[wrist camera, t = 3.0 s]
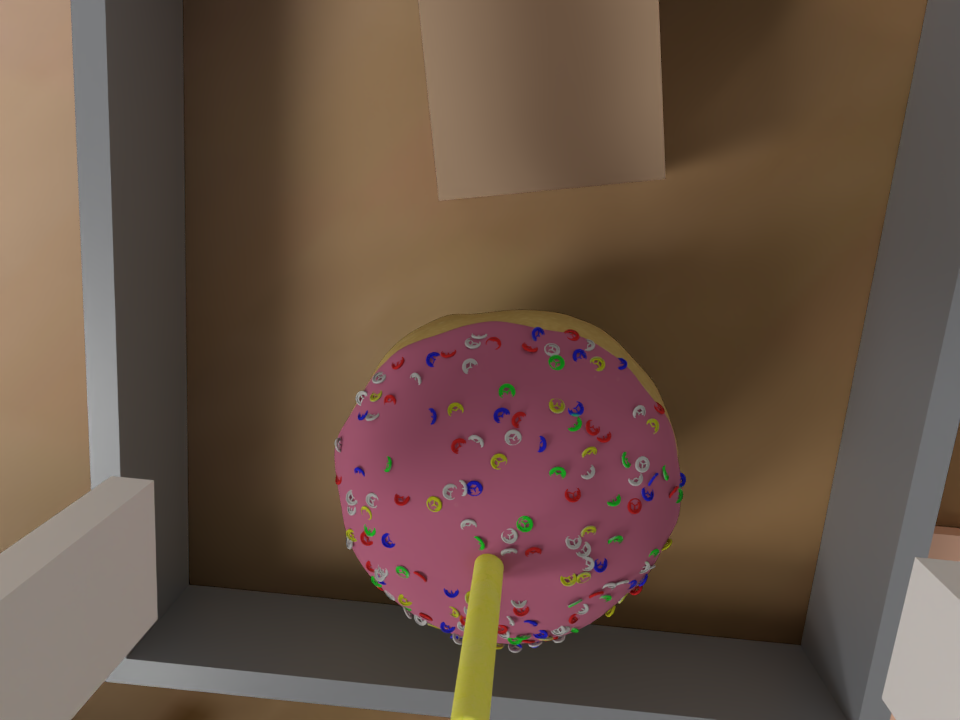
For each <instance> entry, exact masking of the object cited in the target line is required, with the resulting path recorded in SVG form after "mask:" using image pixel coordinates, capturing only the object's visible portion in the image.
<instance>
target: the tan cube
mask: <svg viewBox="0 0 960 720" xmlns="http://www.w3.org/2000/svg"><path fill="white" fill-rule="evenodd" d="M418 5H419V15H420V24H421V34H422V44H423V53H424V63H425V72H426V82H427V92H428V101H429V111H430V121H431V130H432V140H433V150H434V159H435V169H436V179H437V188H438V198H439V201H443V200H453V199H464V198H474V197H485V196H495V195H505V194H516V193H526V192H537V191H547V190H557V189H568V188H578V187H589V186H599V185H609V184H620V183H630V182H641V181H651V180H661V179H666V177H665V151H664V125H663V99H662V73H661V48H660V22H659V0H418Z"/></svg>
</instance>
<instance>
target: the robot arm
mask: <svg viewBox="0 0 960 720" xmlns="http://www.w3.org/2000/svg"><path fill="white" fill-rule="evenodd" d="M157 619H158V613H157V577H156V541H155V505H154V480H146V479H136V478H126V477H116V476H111V477H110V478H108V479H107V480H105V481H104V482H102V483H101V484H99V485H98V486H97V487H95V488H94V489H92V490H91V491H89V492H88V493H86V494H85V495H84V496H82V497H81V498H79V499H78V500H76V501H75V502H74V503H72V504H71V505H69V506H68V507H66V508H65V509H63V510H62V511H61V512H59V513H58V514H56V515H55V516H53V517H52V518H50V519H49V520H48V521H46V522H45V523H43V524H42V525H40V526H39V527H38V528H36V529H35V530H33V531H32V532H30V533H29V534H27V535H26V536H25V537H23V538H22V539H20V540H19V541H17V542H16V543H14V544H13V545H12V546H10V547H9V548H7V549H6V550H4V551H3V552H2V553H0V720H71V719H72V718H73V717H74V716H75V715H76V714H77V712H78V711H79V710H80V709H81V708H82V707H83V705H84V704H85V703H86V702H87V701H88V700H89V698H90V697H91V696H92V695H93V694H94V693H95V691H96V690H97V689H98V688H99V687H100V686H101V684H102V683H103V682H104V681H105V680H106V679H107V678H108V676H109V675H110V674H111V673H112V672H113V671H114V669H115V668H116V667H117V666H118V665H119V664H120V662H121V661H122V660H123V659H124V658H125V657H126V655H127V654H128V653H129V652H130V651H131V650H132V648H133V647H134V646H135V645H136V644H137V643H138V641H139V640H140V639H141V638H142V637H143V636H144V634H145V633H146V632H147V631H148V630H149V629H150V627H151V626H152V625H153V624H154V623H155V622H156V620H157ZM882 700H883V701H884V703H885V704H886V706H887V707H888V709H889V710H890V712H891V713H892V714H893V716H894V717H895V719H896V720H960V561H950V560H940V559H930V558H920V557H915V560H914V564H913V568H912V572H911V576H910V581H909V585H908V589H907V593H906V598H905V602H904V606H903V610H902V614H901V619H900V623H899V627H898V631H897V636H896V640H895V644H894V648H893V652H892V657H891V661H890V665H889V669H888V674H887V678H886V682H885V686H884V690H883V695H882Z"/></svg>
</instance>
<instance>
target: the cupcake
mask: <svg viewBox="0 0 960 720" xmlns="http://www.w3.org/2000/svg"><path fill="white" fill-rule="evenodd" d="M335 470H336V484H337V485H338V490H339V496H340V502H341V508H342V514H343V520H344V525H345V529H346V535H347V538H346V545H347V548H348V549H351V548H353V551H354V552H355V554H356V556H357V558H358V559H359V561H360V563H361V564H362V566H363V567H364V569H365V570H366V571H367V573H368V574H369V575H370V576H371V581H372V583H373V584H374V585H375V586H376V587H377V588H378V589H380V590H381V591H384V592H385V594H386V595H387V596H388V597H389V598H390V599H391V600H393V601H396V602H397V603H398V604H400V605H401V606H402V607H403V609H404V612H405V614H406V616H407V617H408V618H409V619H411V618H412V617H413V616H412V614H413V615H414V619H415V621H416V622H417V623H418V624H419V625H422V626H423V625H425V624H426V623H427V625H429V626H432V627H435V628H437V629H441V630H442V631H443V632H445V633H451V634H453V635H451V636H450V638H451V639H453V641H454V642H455V643H456V644H458V645H461V644H462V648H461V654H460V661H459V667H458V674H457V680H456V687H455V693H454V700H453V706H452V713H451V719H450V720H489V719H490V708H491V698H492V687H493V677H494V666H495V655H496V649H502V648H503V647H504V644H509V645H508V649H509V650H510V651H511V652H513V653H518V652H520V651H521V650H522V643H528V645H529V646H530V647H532V648H536V647H538V646H539V645H541V644H542V642H543V641H552V640H553V641H554V642H555V643H560V642H562V641H564V639H565V636H566V634H569V633H572V632H573V633H577V632H579V629H581V628H583V627H585V626H587V625H589V624H590V623H592V622H593V621H595V620H596V619H598V618H599V617H601V616H602V615H603V614H606V616H607V617H610V616H611V615H612V614H613V613H614V611H615V607H616V606H615V605H616V604H617V603H619V604H620V603H621V602H622V601H623V600H624V599H625V597H626V596H627V594H628V593H629V592H630V593H631V594H632V595H637V594H639V593H640V592H641V591H642V588H643V586H642V585H644V583H645V582H646V580H647V578H648V573H649V572H650V570H651V569H652V568H655V567H656V566H655V565H654V563H655V562H656V560H657V558H658V556H659V555H660V553H661V551H663V550H666V549H667V548H669V547H670V546H671V544H672V540H671V539H668V538H669V536H670V535H671V533H672V531H673V529H674V527H675V525H676V523H677V520H678V516H679V511H680V503H681V500H682V498H683V492H682V490H681V487H682V486H684V484H685V482H686V477H685V475H684V474H683V473H680V468H679V463H678V448H677V442H676V437H675V434H674V430H673V427H672V424H671V421H670V418H669V415H668V413H667V410H666V408H665V405H664V403H663V401H662V399H661V396H660V394H659V392H658V390H657V388H656V386H655V384H654V383H653V381H652V380H651V379H650V377H649V376H648V375H647V374H646V373H645V371H644V370H643V369H642V368H641V367H640V366H639V365H638V364H637V363H636V362H635V360H634V359H633V358H632V357H631V356H630V355H629V354H628V352H627V351H626V350H625V349H624V348H623V347H622V346H621V345H620V344H619V343H618V342H617V341H616V340H615V339H613V338H612V337H611V336H610V335H608V334H607V333H606V332H604V331H603V330H602V329H600V328H598V327H597V326H595V325H593V324H590V323H588V322H585V321H583V320H580V319H577V318H575V317H572V316H569V315H565V314H561V313H556V312H548V311H538V310H507V311H497V312H488V313H479V314H452V315H447V316H444V317H441V318H439V319H436V320H434V321H432V322H430V323H428V324H426V325H424V326H422V327H420V328H418V329H416V330H414V331H413V332H411V333H410V334H408V335H407V336H405V337H404V338H403V339H401V340H400V341H399V342H398V343H397V344H395V345H394V346H393V347H392V348H391V350H390V351H389V352H388V353H387V354H386V355H385V356H384V358H383V359H382V361H381V362H380V363H379V365H378V367H377V368H376V370H375V371H374V373H373V375H372V377H371V378H370V380H369V382H368V383H367V385H366V387H365V388H364V390H363V391H360V392H358V393H357V395H356V404H355V406H354V408H353V410H352V412H351V414H350V416H349V418H348V419H347V421H346V423H345V424H344V426H343V427H342V429H341V431H340V433H339V435H338V438H336V440H335ZM681 477H682V478H681ZM681 480H682V483H681ZM666 542H668V543H666ZM667 544H668V545H667ZM666 545H667V546H666ZM642 581H643V582H642ZM641 582H642V583H641ZM637 585H638V587H636V586H637ZM634 588H635V589H634ZM637 588H639V589H638V591H635V590H636V589H637ZM633 589H634V591H633ZM611 608H612V609H611ZM610 610H611V612H610ZM609 612H610V613H609ZM408 613H409V614H408ZM418 618H419V619H421V621H422V622H420V621H419V620H418ZM559 637H562V638H561V639H558V638H559ZM457 639H458V640H457ZM459 639H462V641H459ZM536 642H537V643H536ZM499 643H501V644H499ZM532 643H535V644H532ZM497 644H498V645H500V646H496V645H497ZM512 644H513V645H515V646H513V647H512ZM516 645H517V646H518V647H517V646H516ZM514 647H516V648H518V649H516V650H514V649H513V648H514Z"/></svg>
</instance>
